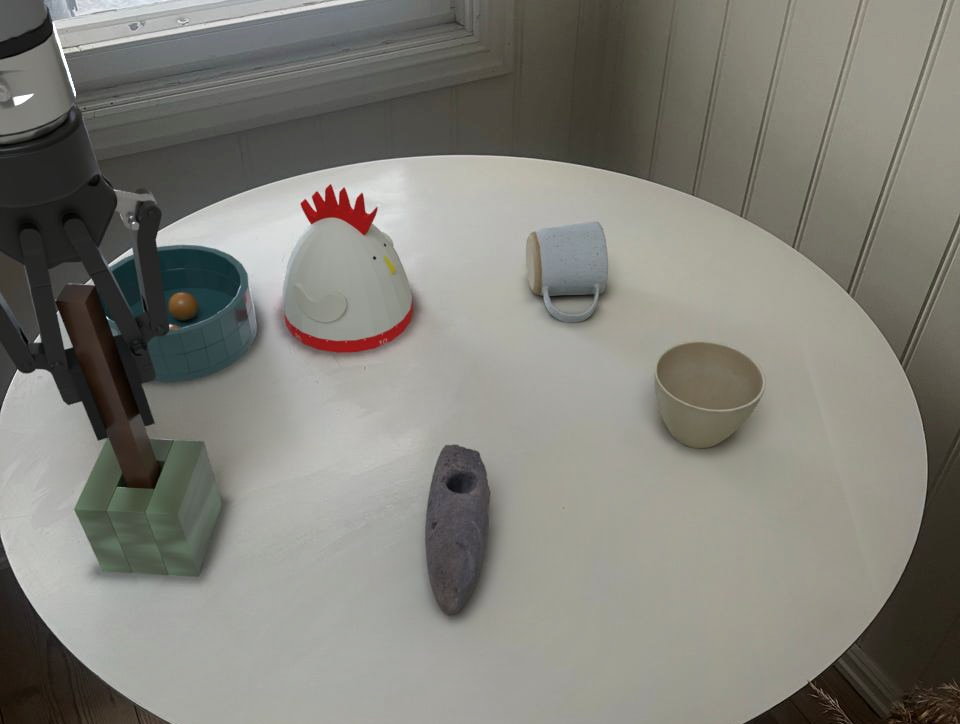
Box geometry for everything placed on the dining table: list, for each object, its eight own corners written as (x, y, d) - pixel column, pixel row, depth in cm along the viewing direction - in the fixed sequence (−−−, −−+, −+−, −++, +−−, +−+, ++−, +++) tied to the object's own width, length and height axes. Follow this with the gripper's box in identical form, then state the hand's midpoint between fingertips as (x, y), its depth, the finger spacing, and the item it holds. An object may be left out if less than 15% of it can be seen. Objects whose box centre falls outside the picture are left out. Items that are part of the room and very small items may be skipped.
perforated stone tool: (479, 634, 73) (480, 581, 68) (412, 629, 73) (409, 575, 68) (493, 494, 83) (495, 439, 78) (435, 489, 83) (434, 434, 78)
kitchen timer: (379, 366, 95) (369, 238, 84) (261, 335, 98) (236, 208, 87) (431, 291, 104) (428, 167, 93) (321, 265, 107) (305, 142, 96)
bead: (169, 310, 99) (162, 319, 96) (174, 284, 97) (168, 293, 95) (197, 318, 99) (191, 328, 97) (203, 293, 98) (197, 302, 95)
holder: (103, 572, 76) (73, 509, 70) (133, 500, 82) (107, 436, 76) (199, 577, 76) (177, 514, 70) (222, 505, 82) (204, 440, 76)
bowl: (84, 379, 93) (65, 331, 88) (132, 288, 103) (118, 241, 99) (238, 386, 92) (227, 339, 88) (270, 294, 103) (262, 247, 98)
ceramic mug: (521, 271, 107) (525, 212, 101) (590, 266, 107) (598, 208, 102) (538, 329, 100) (543, 269, 94) (612, 323, 100) (621, 264, 95)
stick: (141, 521, 76) (54, 301, 60) (148, 503, 77) (66, 283, 61) (165, 522, 76) (84, 302, 60) (172, 504, 77) (95, 284, 61)
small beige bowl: (753, 408, 91) (771, 351, 86) (741, 478, 85) (759, 421, 80) (653, 386, 93) (664, 330, 88) (634, 453, 87) (645, 396, 81)
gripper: (-144, 176, 47) (19, 488, 64) (166, 115, 52) (240, 419, 69) (-150, 114, 51) (3, 421, 69) (136, 63, 56) (212, 361, 74)
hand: (122, 420), depth 69 cm, fingers closed on stick, 3 cm apart
